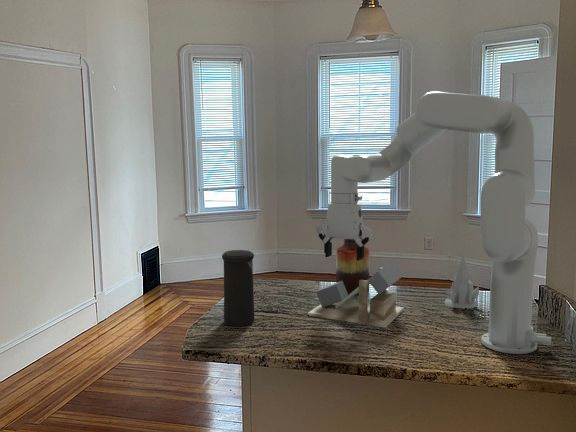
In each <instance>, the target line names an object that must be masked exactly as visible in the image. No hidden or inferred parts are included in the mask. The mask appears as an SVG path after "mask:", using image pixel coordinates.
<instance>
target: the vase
mask: <svg viewBox="0 0 576 432" xmlns="http://www.w3.org/2000/svg"><path fill="white" fill-rule="evenodd" d="M361 237H362V238H363V236H361ZM357 246H358V244H357V243H356V241H355V240H354V239H343V244H341V245H339V246H337V248H336V250H335V251H336V253H335V258H336V259H335V263H336V265H335V268H336V270H335V283H337V282H340V281H343V283H344V286H345V288H346V291H347V293H348V295H349V294H350V293H352V292H353V291H354V290H355V289H356V288H358V287H359V281H360V280H368V279H369V278H370V263H371V262H370V259H371V258H370V256H371V254H370V251H371V250H370V248H369V247H368V246H366V245H364V257H363V258H362V259H361V260H357ZM369 293H370V283H369V284H368V294H369ZM354 297H359V292H358V293H357V294H356V295H355V296H354Z"/></svg>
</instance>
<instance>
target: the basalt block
mask: <svg viewBox="0 0 576 432" xmlns="http://www.w3.org/2000/svg"><path fill="white" fill-rule="evenodd" d="M315 293H316V296H317V298H318V301H319V303H320V305H321V306H322V308H323V307H326V306H329V305H332V304H335V303H338V302H340V301H342V300H343V299H344V298H345V297H347V296H348V293H347V291H346V288H345V286H344V283H343V281H340V282H337V283H336V282H334V283H331V284H329V285H326V286H323V287H321V288H320V289H318V290H316V291H315Z"/></svg>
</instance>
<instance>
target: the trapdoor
mask: <svg viewBox="0 0 576 432" xmlns="http://www.w3.org/2000/svg"><path fill="white" fill-rule="evenodd" d="M378 270H379V269H378ZM403 276H404V273H403V272H402V271H401V270H400V269H399V267H397V264H395V263H394V262H393V261H391V262H390V263H388V264H387V265H385V266H384V267H383V268H382V269H381V270H379V271H377V272H375V273H374V274H372V275H371V277H370V276H369V279H368V284H369V285H371V287H373V289H374V290H375V292H377V293H376V294H381V293H382V292H383V291H384V290H387V289H389V288H390V287H391V286H392V285H393V284H395V283H397V281H399V280H400V279H402V278H403ZM358 292H359V287H358V288H356V289H355V290H354V291H353V292H352V293H350V294H349V295H348V296H347V297H345V298H344V299H343V300H342V301H341V302H339V303H338V304H337V305H336V308H337V307H339V306H340V305H342V304H343V303H345V302H346V301H347V300H351V299H352V298H353V297H356V296H355V295H356V294H357V293H358Z"/></svg>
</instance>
